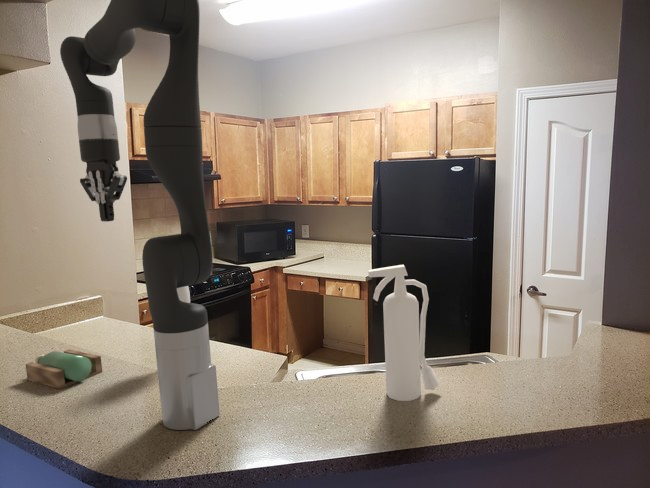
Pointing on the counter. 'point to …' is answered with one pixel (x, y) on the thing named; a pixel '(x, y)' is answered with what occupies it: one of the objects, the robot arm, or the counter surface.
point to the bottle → (67, 364)
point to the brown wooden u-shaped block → (60, 371)
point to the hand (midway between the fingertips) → (107, 221)
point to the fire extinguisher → (404, 336)
